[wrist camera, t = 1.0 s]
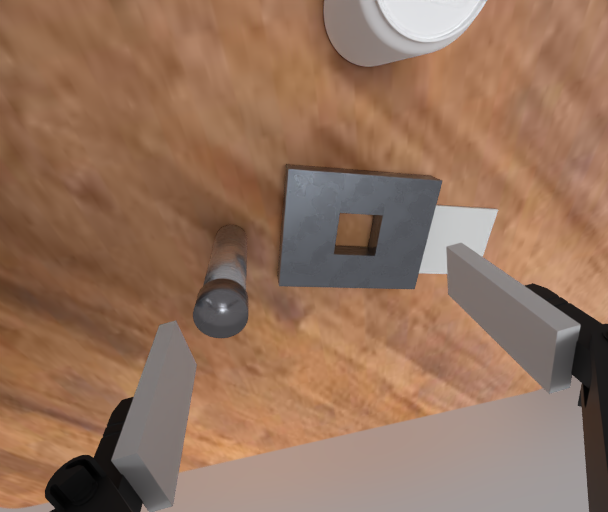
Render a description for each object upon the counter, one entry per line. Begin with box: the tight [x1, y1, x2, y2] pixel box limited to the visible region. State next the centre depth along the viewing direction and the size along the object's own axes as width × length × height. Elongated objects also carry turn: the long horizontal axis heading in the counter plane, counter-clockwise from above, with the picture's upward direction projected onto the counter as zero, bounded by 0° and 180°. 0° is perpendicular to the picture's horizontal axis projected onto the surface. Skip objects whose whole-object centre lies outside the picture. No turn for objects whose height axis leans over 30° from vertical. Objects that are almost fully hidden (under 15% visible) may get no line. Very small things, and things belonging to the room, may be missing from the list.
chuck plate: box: [277, 164, 442, 289], centre depth 36 cm, size 15×12×2 cm
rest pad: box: [419, 205, 498, 274], centre depth 40 cm, size 8×8×1 cm
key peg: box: [193, 225, 248, 338], centre depth 30 cm, size 4×4×14 cm
